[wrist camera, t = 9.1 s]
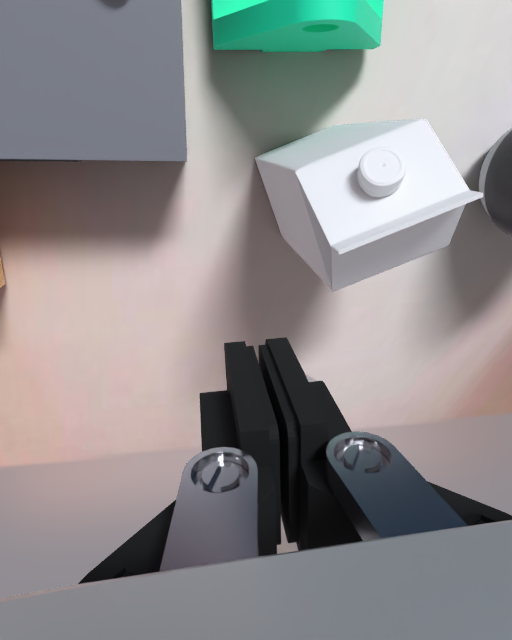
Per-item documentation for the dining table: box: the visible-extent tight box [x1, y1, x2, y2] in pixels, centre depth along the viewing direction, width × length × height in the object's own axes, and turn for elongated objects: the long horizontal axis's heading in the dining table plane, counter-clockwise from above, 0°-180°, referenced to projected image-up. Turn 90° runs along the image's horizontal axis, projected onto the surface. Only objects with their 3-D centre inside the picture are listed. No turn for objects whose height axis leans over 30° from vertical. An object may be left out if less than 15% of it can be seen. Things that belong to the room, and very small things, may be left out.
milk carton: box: [255, 119, 483, 291], centre depth 29 cm, size 7×7×19 cm
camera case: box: [0, 0, 187, 162], centre depth 28 cm, size 12×18×9 cm
